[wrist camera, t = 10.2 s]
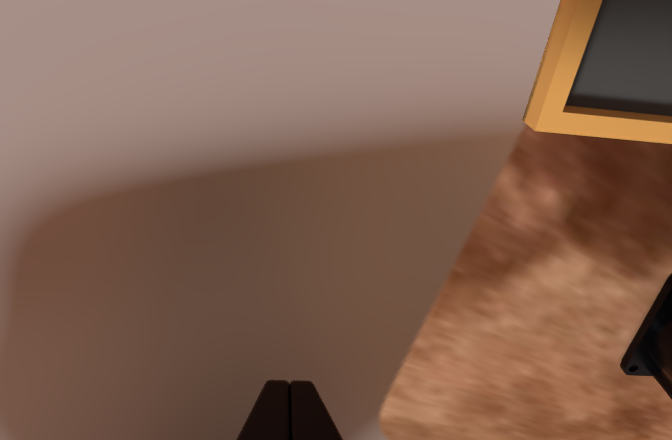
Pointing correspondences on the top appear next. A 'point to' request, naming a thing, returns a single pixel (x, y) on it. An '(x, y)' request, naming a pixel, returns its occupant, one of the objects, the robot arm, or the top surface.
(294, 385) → the robot arm
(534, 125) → the wooden picture frame
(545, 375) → the top surface
